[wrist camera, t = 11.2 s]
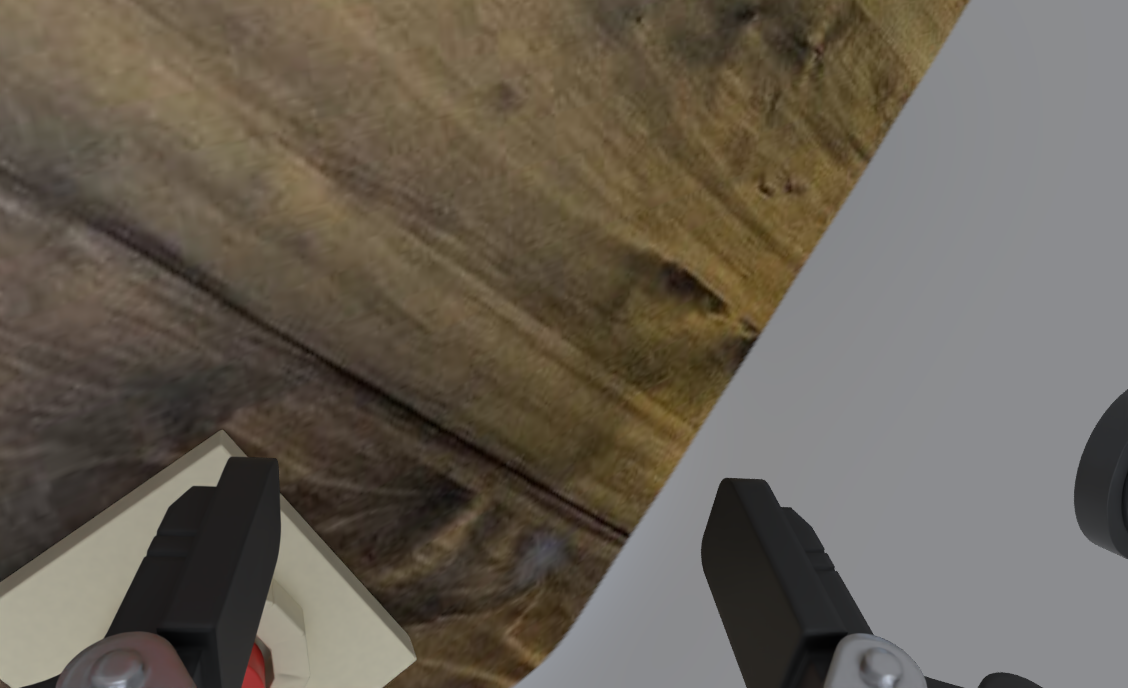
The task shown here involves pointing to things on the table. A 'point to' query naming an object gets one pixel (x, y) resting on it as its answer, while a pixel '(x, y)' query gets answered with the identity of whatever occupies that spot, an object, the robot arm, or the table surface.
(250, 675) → the button
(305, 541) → the control block
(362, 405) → the table surface
